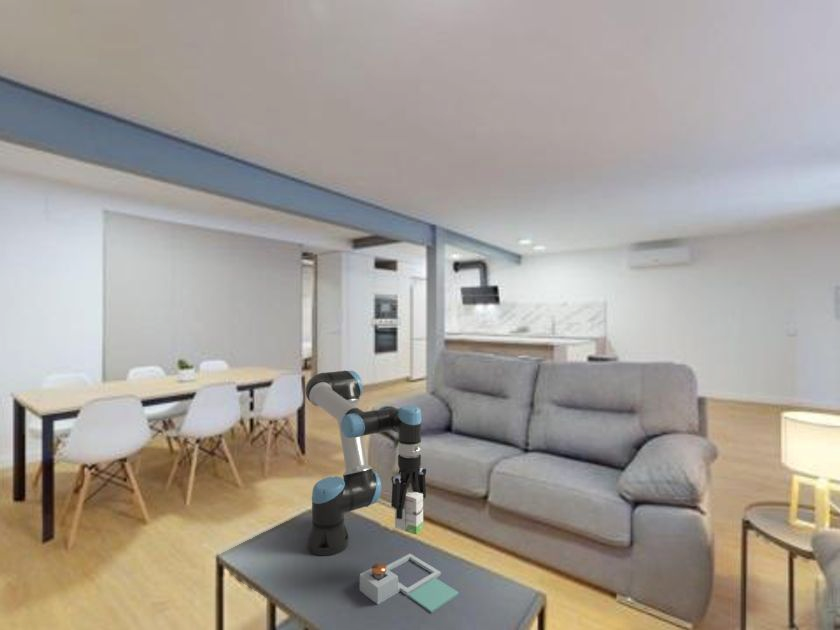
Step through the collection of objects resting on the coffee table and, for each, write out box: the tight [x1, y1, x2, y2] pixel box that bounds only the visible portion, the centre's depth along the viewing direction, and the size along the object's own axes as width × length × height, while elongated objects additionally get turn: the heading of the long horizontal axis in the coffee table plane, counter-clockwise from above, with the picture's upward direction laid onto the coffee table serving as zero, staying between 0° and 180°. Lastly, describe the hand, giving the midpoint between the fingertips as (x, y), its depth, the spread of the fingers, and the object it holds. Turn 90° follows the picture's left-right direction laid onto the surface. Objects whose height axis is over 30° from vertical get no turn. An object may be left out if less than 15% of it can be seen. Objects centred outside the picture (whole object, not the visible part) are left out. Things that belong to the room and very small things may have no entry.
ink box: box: [394, 489, 424, 535], centre depth 141 cm, size 9×5×12 cm, turn 58°
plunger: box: [371, 562, 387, 581], centre depth 133 cm, size 4×4×6 cm
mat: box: [407, 577, 460, 614], centre depth 131 cm, size 10×12×1 cm
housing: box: [359, 553, 442, 605], centre depth 138 cm, size 15×24×5 cm, turn 134°
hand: (408, 524), depth 141 cm, fingers closed on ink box, 6 cm apart
